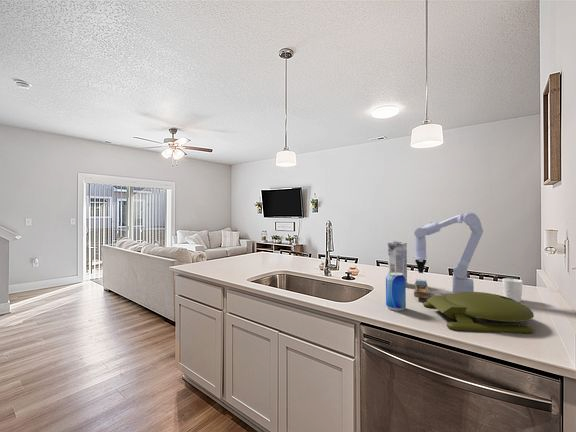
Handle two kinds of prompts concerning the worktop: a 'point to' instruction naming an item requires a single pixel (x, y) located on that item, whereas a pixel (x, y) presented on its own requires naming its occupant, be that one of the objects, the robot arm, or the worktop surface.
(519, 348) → the worktop surface
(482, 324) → the spaceship
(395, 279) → the beer can
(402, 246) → the juice carton
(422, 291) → the wooden tray
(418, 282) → the block
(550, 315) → the worktop surface
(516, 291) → the white cup
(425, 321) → the worktop surface
